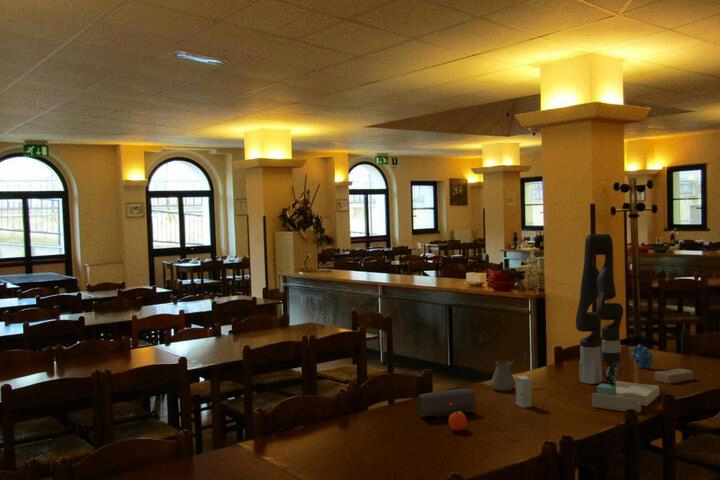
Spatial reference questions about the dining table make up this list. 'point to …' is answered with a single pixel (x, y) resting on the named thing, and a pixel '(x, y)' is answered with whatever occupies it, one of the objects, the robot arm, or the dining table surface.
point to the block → (606, 389)
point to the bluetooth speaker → (445, 402)
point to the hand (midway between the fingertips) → (612, 390)
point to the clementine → (457, 421)
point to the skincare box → (523, 391)
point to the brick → (674, 376)
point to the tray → (626, 397)
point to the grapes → (642, 356)
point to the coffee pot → (503, 375)
